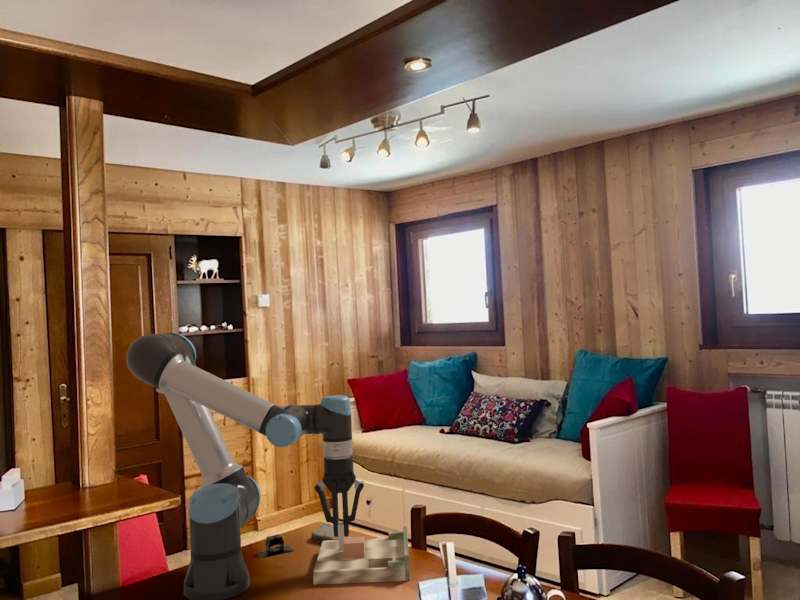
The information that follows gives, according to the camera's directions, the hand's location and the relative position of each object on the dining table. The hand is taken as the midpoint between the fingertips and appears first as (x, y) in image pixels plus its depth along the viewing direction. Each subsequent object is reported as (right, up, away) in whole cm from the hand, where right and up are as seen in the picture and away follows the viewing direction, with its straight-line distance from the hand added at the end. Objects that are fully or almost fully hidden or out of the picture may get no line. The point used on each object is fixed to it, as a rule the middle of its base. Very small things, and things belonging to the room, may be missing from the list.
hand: (342, 548), depth 168 cm
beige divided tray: (+6, -4, 0) cm, 7 cm away
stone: (-5, -6, +21) cm, 22 cm away
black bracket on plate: (-20, -6, +12) cm, 24 cm away
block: (+3, -1, 0) cm, 3 cm away
